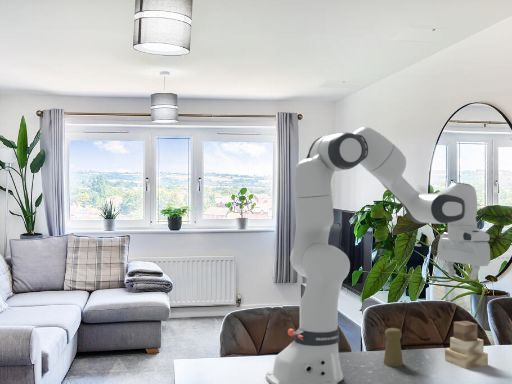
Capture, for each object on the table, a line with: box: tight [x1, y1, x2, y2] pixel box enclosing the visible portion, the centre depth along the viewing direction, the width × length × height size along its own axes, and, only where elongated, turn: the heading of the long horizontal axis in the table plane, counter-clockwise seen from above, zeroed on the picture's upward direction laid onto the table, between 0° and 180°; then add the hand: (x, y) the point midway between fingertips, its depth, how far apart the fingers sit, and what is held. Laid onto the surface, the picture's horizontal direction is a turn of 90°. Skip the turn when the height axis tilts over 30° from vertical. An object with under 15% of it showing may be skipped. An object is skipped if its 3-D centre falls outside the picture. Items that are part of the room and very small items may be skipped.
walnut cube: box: [453, 320, 478, 342], centre depth 175 cm, size 5×5×5 cm
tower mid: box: [449, 336, 484, 356], centre depth 175 cm, size 7×7×4 cm
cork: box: [383, 327, 404, 368], centre depth 174 cm, size 6×6×11 cm
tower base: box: [444, 347, 489, 369], centre depth 175 cm, size 9×9×4 cm
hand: (462, 277), depth 175 cm, fingers open, 8 cm apart
